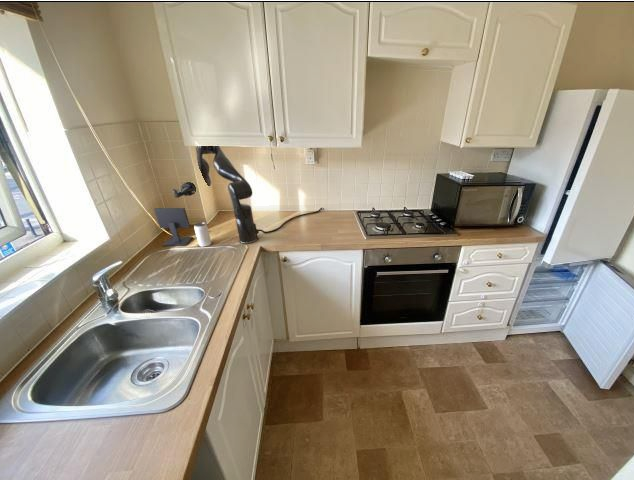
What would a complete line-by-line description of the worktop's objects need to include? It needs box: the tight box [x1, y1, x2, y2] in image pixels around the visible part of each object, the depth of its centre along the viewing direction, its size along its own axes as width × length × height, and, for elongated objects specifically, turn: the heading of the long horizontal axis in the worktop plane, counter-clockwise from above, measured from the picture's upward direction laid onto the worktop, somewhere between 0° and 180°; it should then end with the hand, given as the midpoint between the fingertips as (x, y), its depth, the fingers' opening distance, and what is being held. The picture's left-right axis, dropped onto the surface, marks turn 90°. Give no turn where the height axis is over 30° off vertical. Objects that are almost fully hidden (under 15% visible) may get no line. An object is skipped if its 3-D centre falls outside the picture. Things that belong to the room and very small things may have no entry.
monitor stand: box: [162, 222, 194, 247], centre depth 156 cm, size 10×12×12 cm
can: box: [193, 221, 212, 248], centre depth 154 cm, size 6×6×12 cm
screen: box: [153, 207, 191, 229], centre depth 153 cm, size 1×16×11 cm, turn 91°
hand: (176, 195), depth 157 cm, fingers closed
